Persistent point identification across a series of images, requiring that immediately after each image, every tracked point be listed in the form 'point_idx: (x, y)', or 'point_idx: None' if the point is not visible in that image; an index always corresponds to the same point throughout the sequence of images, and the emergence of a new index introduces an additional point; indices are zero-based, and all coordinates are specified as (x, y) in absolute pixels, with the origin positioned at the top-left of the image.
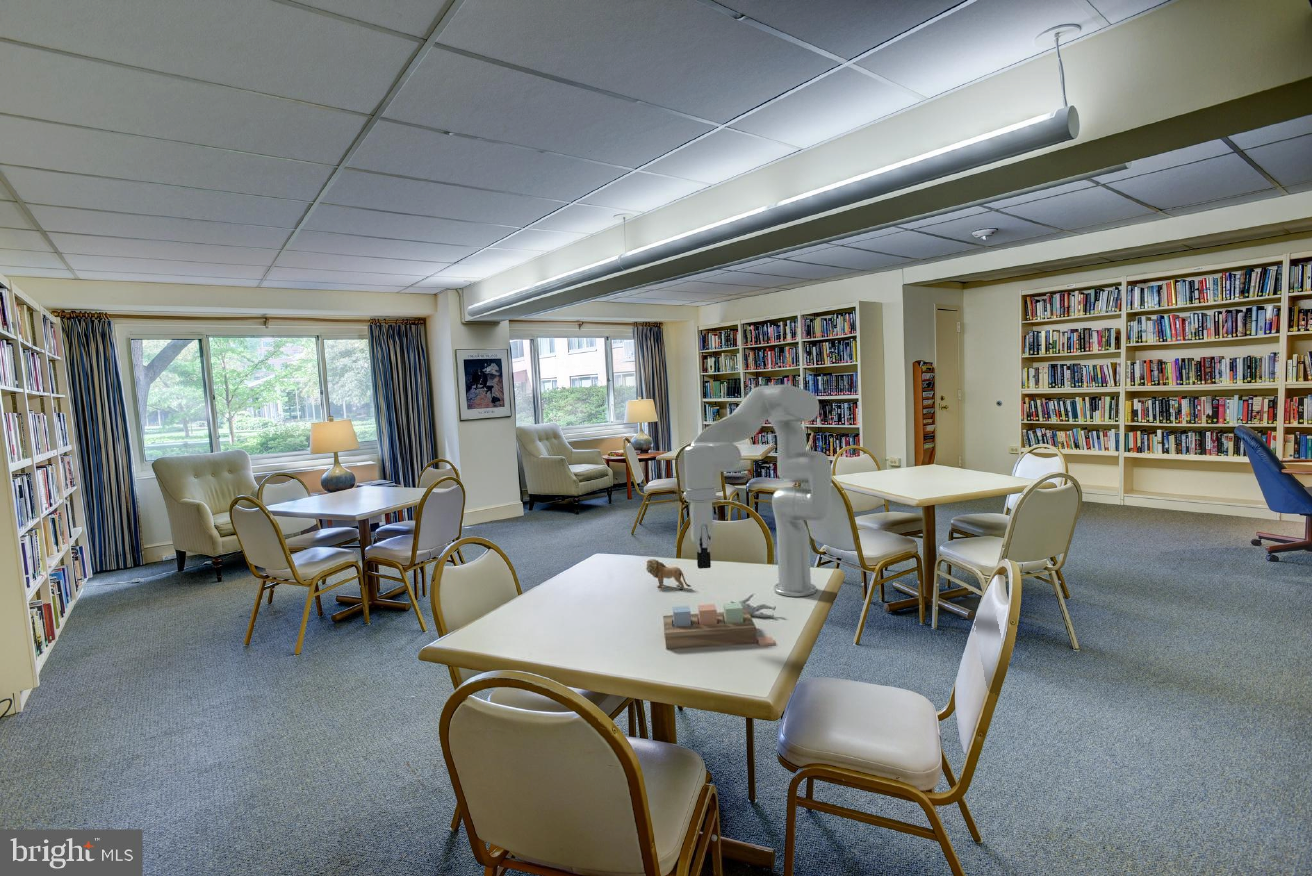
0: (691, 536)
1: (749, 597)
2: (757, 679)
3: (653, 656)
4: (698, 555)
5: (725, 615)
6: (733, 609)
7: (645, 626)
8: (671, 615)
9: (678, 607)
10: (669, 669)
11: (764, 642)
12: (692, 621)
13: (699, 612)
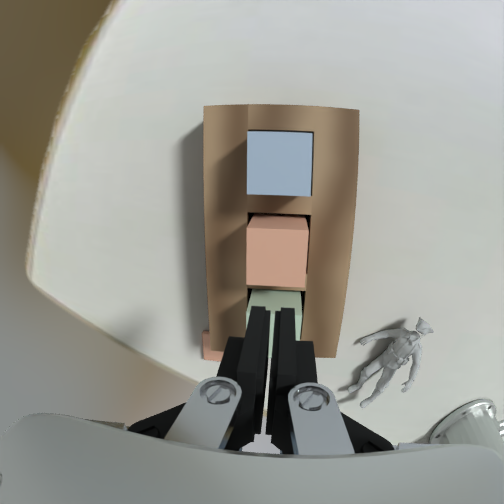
0: (271, 480)
1: (410, 375)
2: (70, 284)
3: (176, 83)
4: (240, 362)
5: (265, 300)
6: None
7: (391, 72)
8: (355, 136)
9: (299, 154)
10: (107, 125)
11: (205, 343)
12: (285, 196)
13: (259, 225)
